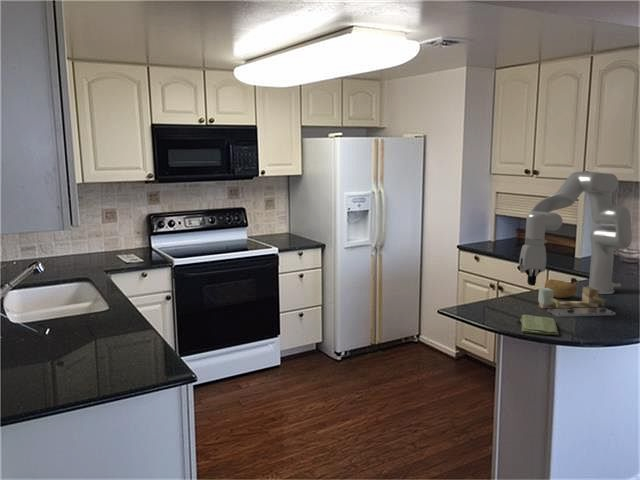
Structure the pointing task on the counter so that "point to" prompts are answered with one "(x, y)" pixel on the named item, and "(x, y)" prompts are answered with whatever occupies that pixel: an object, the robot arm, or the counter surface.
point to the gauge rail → (588, 300)
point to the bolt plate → (581, 312)
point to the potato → (561, 288)
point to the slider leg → (547, 297)
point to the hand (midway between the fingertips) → (531, 284)
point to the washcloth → (538, 325)
